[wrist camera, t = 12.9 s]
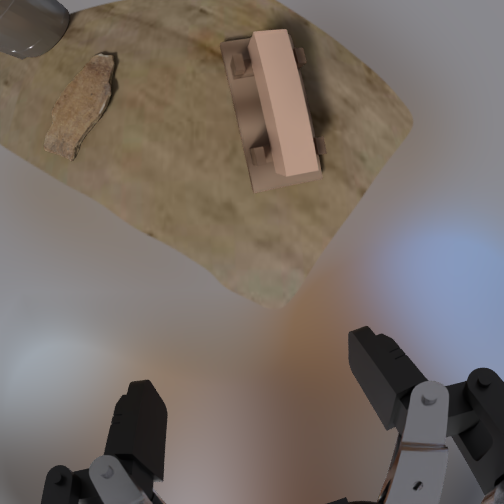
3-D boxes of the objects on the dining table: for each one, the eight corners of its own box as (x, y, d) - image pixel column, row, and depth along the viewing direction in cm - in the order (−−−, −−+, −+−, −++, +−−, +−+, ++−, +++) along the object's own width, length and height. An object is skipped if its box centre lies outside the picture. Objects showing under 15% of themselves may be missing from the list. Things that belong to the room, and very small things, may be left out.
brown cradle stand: (318, 177, 36) (335, 182, 31) (252, 191, 36) (259, 198, 31) (287, 38, 29) (299, 22, 24) (220, 46, 29) (221, 30, 24)
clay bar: (275, 173, 33) (286, 176, 28) (247, 47, 27) (253, 31, 22) (303, 167, 33) (318, 170, 28) (276, 44, 27) (286, 29, 22)
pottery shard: (86, 54, 27) (43, 150, 30) (80, 48, 25) (34, 149, 27) (133, 65, 29) (88, 166, 32) (129, 58, 27) (81, 165, 29)
